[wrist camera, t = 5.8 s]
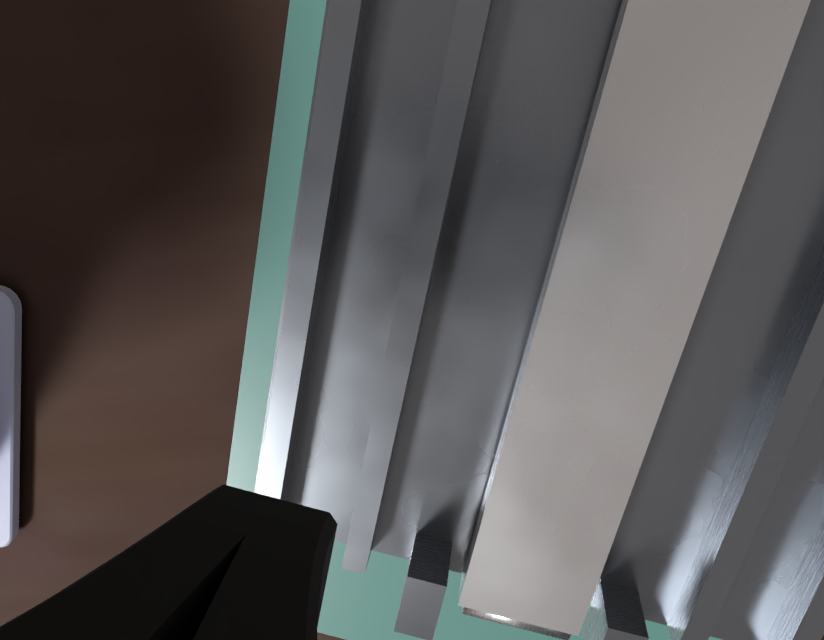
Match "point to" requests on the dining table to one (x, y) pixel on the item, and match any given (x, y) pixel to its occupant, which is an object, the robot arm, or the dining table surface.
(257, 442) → the circuit board
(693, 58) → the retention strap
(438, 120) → the heat sink
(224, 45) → the dining table surface
